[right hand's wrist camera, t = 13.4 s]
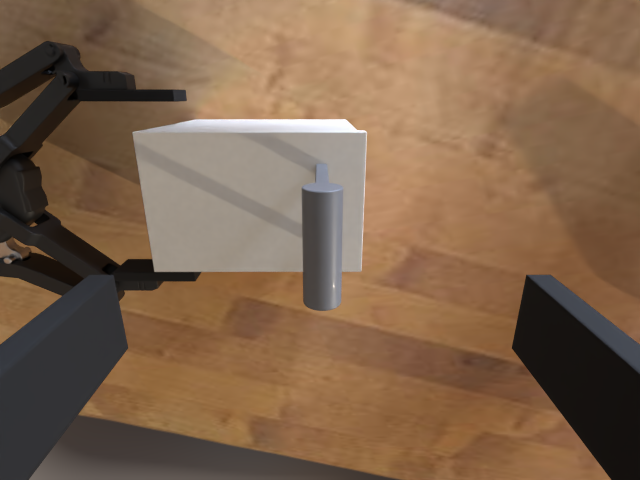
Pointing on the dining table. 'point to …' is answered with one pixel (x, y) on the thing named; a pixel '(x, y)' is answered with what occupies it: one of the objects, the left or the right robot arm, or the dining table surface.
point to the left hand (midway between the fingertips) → (191, 189)
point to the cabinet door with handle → (256, 203)
